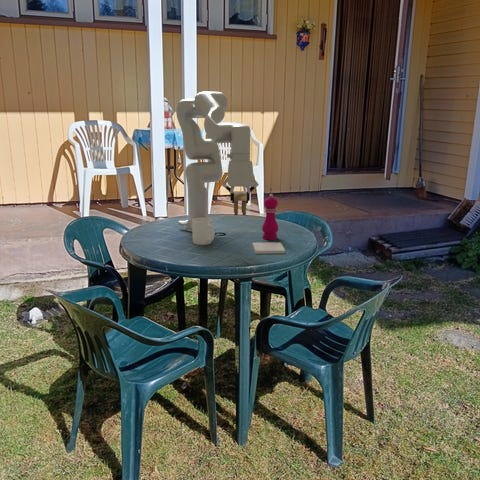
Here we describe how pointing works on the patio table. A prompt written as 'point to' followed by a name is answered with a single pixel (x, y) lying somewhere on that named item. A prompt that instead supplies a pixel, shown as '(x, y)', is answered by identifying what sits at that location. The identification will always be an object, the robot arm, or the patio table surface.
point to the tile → (268, 248)
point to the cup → (202, 231)
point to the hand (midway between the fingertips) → (239, 202)
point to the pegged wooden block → (240, 197)
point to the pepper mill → (270, 219)
